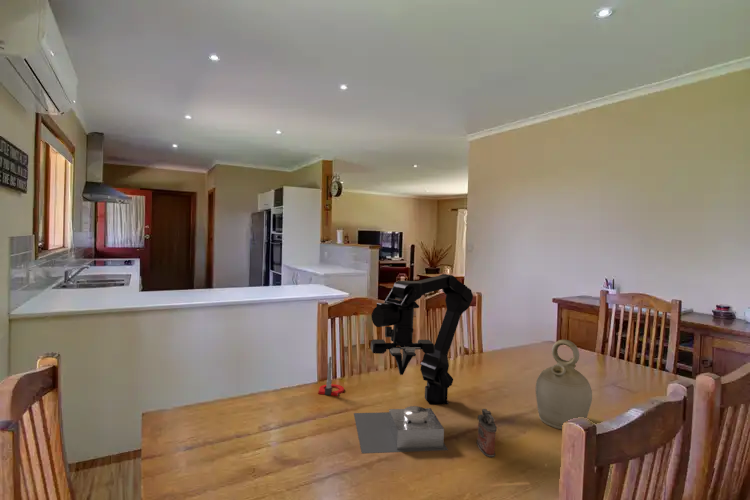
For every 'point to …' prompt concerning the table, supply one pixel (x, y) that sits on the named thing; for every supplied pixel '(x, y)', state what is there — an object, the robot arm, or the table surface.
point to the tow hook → (328, 387)
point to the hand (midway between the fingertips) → (401, 374)
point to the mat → (379, 434)
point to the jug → (562, 390)
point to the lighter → (486, 433)
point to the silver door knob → (415, 415)
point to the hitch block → (415, 431)
